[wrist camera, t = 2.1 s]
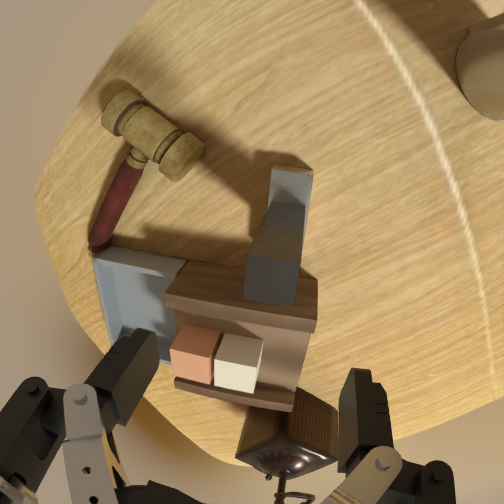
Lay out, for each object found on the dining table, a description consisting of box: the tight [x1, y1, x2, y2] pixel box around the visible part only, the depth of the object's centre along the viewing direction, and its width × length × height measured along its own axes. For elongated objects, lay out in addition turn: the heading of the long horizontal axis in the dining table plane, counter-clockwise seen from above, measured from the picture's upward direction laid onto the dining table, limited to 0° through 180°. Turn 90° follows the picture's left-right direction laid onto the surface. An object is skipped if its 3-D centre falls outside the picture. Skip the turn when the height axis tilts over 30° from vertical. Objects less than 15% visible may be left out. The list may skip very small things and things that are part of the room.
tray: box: [92, 245, 188, 365], centre depth 36 cm, size 14×11×4 cm
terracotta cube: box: [170, 324, 220, 384], centre depth 31 cm, size 4×4×4 cm
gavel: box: [89, 90, 205, 259], centre depth 31 cm, size 21×5×10 cm
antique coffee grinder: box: [235, 387, 338, 504], centre depth 35 cm, size 16×11×18 cm
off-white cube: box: [214, 333, 264, 393], centre depth 30 cm, size 4×4×4 cm
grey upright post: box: [243, 165, 313, 307], centre depth 24 cm, size 9×4×14 cm, turn 176°
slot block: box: [164, 260, 318, 412], centre depth 33 cm, size 14×14×7 cm
